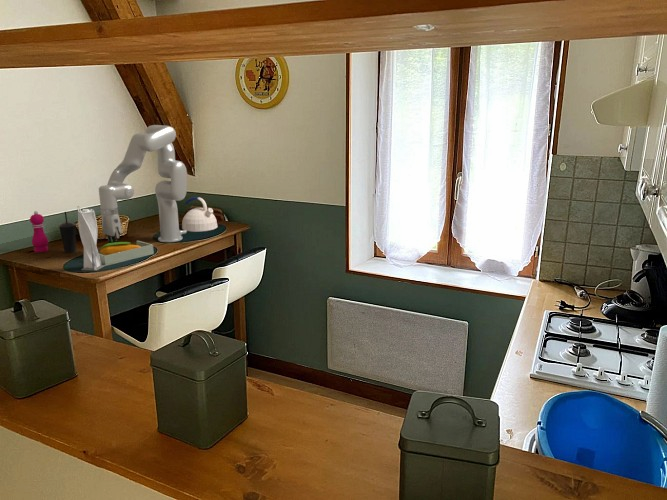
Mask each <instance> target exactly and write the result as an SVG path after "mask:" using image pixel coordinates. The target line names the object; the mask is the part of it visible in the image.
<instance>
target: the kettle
mask: <svg viewBox="0 0 667 500" xmlns="http://www.w3.org/2000/svg"><path fill="white" fill-rule="evenodd" d="M194 200H199V201H200V202H201V204H202V207H191V208H190V210H188V212H186V214H184V217H183V218H182V221H181V222H182V223H181V229H182V231H183V230H186V231H187V232H193V233H196V232H197V233H198V232H199V233H200V232H201V233H202V232H208V231H214V230H215V229H217V228H218V222H217V218H216V216H215V214H214V210H213V208H212V207H208V206H207V203H206V201H205V200H204V199H203V198H202V197H200V196H199V197H198V196H197V197H196V196H195V197H190V198H188V199H187V201H185V204H186V205H187V204H189V203H190V202H192V201H194Z"/></svg>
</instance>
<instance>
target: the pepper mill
mask: <svg viewBox="0 0 667 500" xmlns="http://www.w3.org/2000/svg"><path fill="white" fill-rule="evenodd" d="M44 221H45V218H44V216H43V215H42V214H39V212H38V211H36V210H35V211H34V212H33V214H32V215H30V216H29V222H30V223H31V224H32V225H31V227H32V229H33V235H32V240H31V244H32V246H33V252H34V253H45V252H48V251H49V246H48V244H49V239H48V237H47V235H46V233H45V232H44Z"/></svg>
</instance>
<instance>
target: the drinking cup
mask: <svg viewBox="0 0 667 500" xmlns="http://www.w3.org/2000/svg"><path fill="white" fill-rule="evenodd" d="M67 216H68V215H67V211H64V218H65V221H64V222H62V223H60V224H58V225H57V226H58V228H59V232H60V237H61V240H62V245H63V249H64V253H66V254H72V253H75V252H76V251H77V250H76V249H77V247H76V246H77V245H76V243H77V242H76V225H77V224H76V223H74V222H71V221H68V217H67Z"/></svg>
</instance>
